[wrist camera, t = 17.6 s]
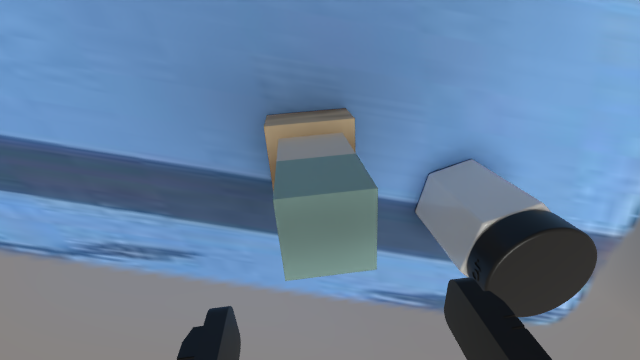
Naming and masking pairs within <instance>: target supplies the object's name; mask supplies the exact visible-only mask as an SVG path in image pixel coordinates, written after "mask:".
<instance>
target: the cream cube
mask: <svg viewBox="0 0 640 360" xmlns="http://www.w3.org/2000/svg"><path fill="white" fill-rule="evenodd" d="M345 154H355V152H354V150H353V149H352V147H351V145H350V144H349V142H348V141H347V139H346V137H345V136H344V134H343V133H342V132H340V133H330V134H320V135H310V136H300V137H289V138H279V139H278V149H277V160H276V161H285V160H295V159H305V158H315V157H325V156H335V155H345Z"/></svg>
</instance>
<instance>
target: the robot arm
mask: <svg viewBox="0 0 640 360" xmlns="http://www.w3.org/2000/svg"><path fill="white" fill-rule="evenodd" d="M444 314H445V319H446V322H447V324H448V326H449V328H450V330H451V331H452V333H453V335H454V337H455V339H456V341H457V342H458V344H459V346H460V348H461V350H462V351H463V353H464V355H465V357H466V359H467V360H552V359H551V358H550V356H549V355H548V354H547V353H546V352H545V350H544V349H543V348H542V347H541V345H540V344H539V343H538V342H537V341H536V339H535V338H534V337H533V336H532V334H530V332H529V331H528V330H527V329H525V327H524V325H523V324H522V322H521V321H520V320H519V319H518V317H516V316H515V314H514V313H513V311H512V310H511V309H510V308H509V306H508V305H507V304H506V303H505V302H504V301H503V300H502V299H500V298H499V297H498V296H496V295H495V294H494V293H492V292H491V291H483V290H482V289H481V287H480V286H479V285H478V284H477V282H476V281H475V280H474V279H473V278H471V277H469V278H461V279H452V280H450V281H449V283H448V288H447V294H446V300H445V305H444ZM240 343H241V342H240V333H239V329H238V326H237V322H236V319H235V315H234V311H233V308H232V307H231V306H228V307H220V308H212V309H209V310H208V313H207V315H206V319H205V322H204V326H199V327H193V329H192V330H191V331H190V333H189V334H188V335H187V337H186V338H185V339H184V341H183V342H182V345H181V348H180V351H179V354H178V357H177V360H239V356H240V345H241V344H240Z"/></svg>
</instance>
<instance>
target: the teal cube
mask: <svg viewBox="0 0 640 360" xmlns="http://www.w3.org/2000/svg"><path fill="white" fill-rule="evenodd" d="M273 204H274V210H275V216H276V223H277V229H278V236H279V242H280V249H281V255H282V261H283V268H284V274H285V281H289V280H297V279H305V278H313V277H321V276H329V275H336V274H344V273H352V272H360V271H368V270H376V269H377V207H378V188H377V186H376V185H375V183H374V181H373V180H372V178H371V177H370V175H369V174H368V172H367V170H366V169H365V167H364V166H363V164H362V163H361V161H360V159H359V158H358V156H357V155H356V153H355V154H345V155H335V156H325V157H315V158H305V159H295V160H285V161H276V171H275V182H274V193H273Z"/></svg>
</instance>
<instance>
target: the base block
mask: <svg viewBox="0 0 640 360" xmlns="http://www.w3.org/2000/svg"><path fill="white" fill-rule="evenodd" d="M264 132H265V138H266V145H267V152H268V158H269V165H270V171H271V178H272V185H273V191H274V182H275V171H276V160H277V149H278V139H279V138H289V137H300V136H310V135H320V134H330V133H340V132H342V133H343V134H344V136H345V137H346V139H347V141H348V142H349V144H350V145H351V147H352V149H353V150H354V152H355V118H354V117H353V116H352V115H351V114H350V113H349V111H348V110H347V109H346V108H342V109H331V110H320V111H309V112H298V113H286V114H275V115H267V117H266V120H265V124H264Z"/></svg>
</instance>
